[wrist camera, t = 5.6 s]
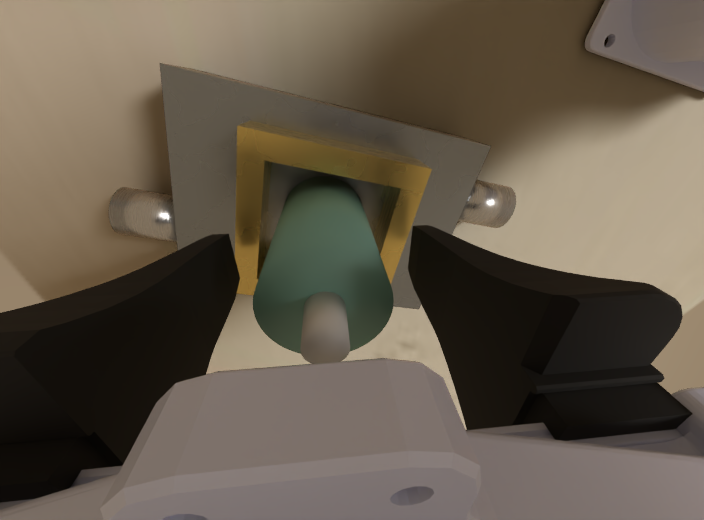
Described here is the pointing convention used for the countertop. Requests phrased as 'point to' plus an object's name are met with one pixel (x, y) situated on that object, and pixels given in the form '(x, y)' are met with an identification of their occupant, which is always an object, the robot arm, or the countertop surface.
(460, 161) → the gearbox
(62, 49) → the countertop surface
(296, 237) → the bottle
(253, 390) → the robot arm
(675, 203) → the countertop surface
